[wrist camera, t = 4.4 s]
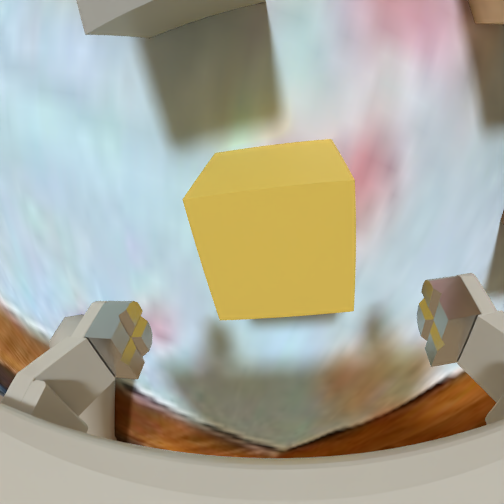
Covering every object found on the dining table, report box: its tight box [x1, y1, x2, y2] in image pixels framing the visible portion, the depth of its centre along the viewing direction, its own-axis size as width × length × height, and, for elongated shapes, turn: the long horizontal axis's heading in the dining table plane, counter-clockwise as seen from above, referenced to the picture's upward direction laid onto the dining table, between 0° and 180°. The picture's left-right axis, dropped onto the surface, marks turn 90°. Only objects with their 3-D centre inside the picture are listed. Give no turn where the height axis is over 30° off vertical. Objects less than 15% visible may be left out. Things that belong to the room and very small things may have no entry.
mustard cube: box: [183, 139, 356, 320], centre depth 12 cm, size 5×5×5 cm
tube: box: [49, 314, 117, 440], centre depth 25 cm, size 5×5×25 cm
